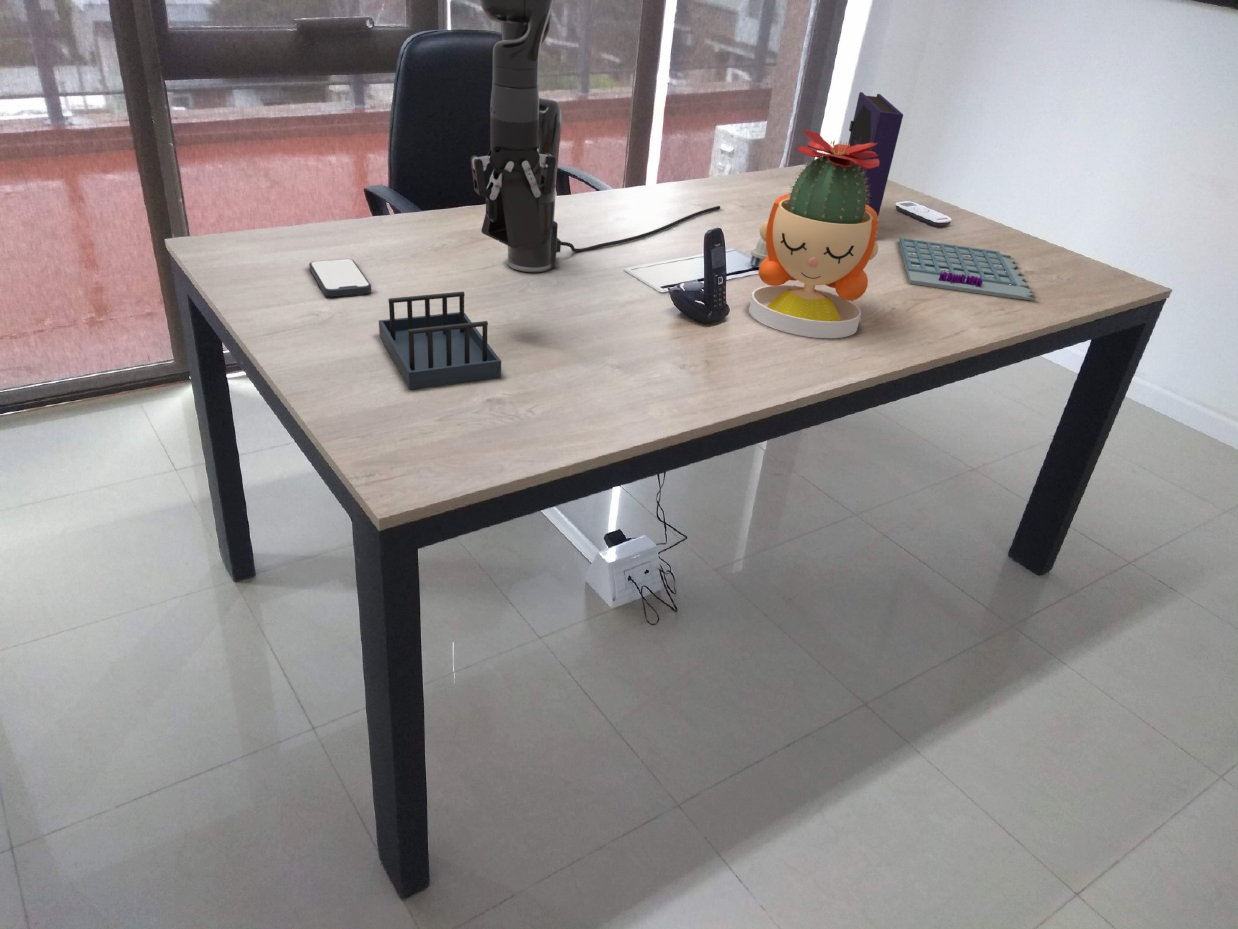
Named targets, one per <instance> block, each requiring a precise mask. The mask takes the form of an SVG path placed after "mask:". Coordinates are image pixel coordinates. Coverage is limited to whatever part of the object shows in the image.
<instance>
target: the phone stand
mask: <svg viewBox="0 0 1238 929" xmlns="http://www.w3.org/2000/svg"><path fill="white" fill-rule="evenodd" d="M493 170H494V171H493ZM493 170H492V172H493V179H498V177H499V176H498V174H497V173H496V170H495V169H493ZM501 172H502V173H503V177H504V181H503V183H502V187H501V188H500V192H499V194H498V196H497V198H496V199H497V200H498V211H497V222H492V221H491V220H490V219H489V218H488V217H487V215H486V214H485V215H484V218H483V223H482V226H481V233H482V234H483V235H485V236H487V237H489V238H491V239H493V240H495V241H498V242H500V243H501V244H504V245H506V246H507V247H508V246H510V247H512V248H519V247H523V246H527V245H531V244H535V243H539V242H542V241H543V238H542V233H541V227H540V222H539V216H538V210H537V205H536V199H535V196H534V195H533V193H532V191H531V189H530V187H529V184H528V182H527V178H524V174H523V173H522V172H521V171H519V170H516V169H512V171H511V172H510V173H509V172H507V171H504V170H503V168H502V169H501ZM532 172H533V171H532ZM493 185H494V184H493Z"/></svg>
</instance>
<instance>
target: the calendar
mask: <svg viewBox="0 0 1238 929" xmlns="http://www.w3.org/2000/svg"><path fill="white" fill-rule="evenodd" d="M898 246H899V249H900V253H901V257H902V260H903V264H904V267H905V271H906V275H907V278H908V283H909V284H910V285H918V286H924V287H930V288H938V289H945V290H952V291H958V292H964V293H965V292H966V293H973V294H978V295H979V294H980V295H986V296H992V297H993V296H994V297H1000V298H1007V299H1014V300H1022V301H1023V300H1024V301H1031V302H1036V299H1037V298H1035V297H1034V296H1035V293H1033V292H1032V291H1033V290H1032V289H1030V288H1029V284H1028V283H1026V282H1025V279H1026V278H1025V277H1024V276H1020V275H1022V271H1021V270H1017V269H1016V268H1018V264H1016V263H1015V262H1016V260H1015V259H1011V257H1012V255H1009V254H1004V253H1001V252H1000V251H997V250H991V249H985V248H976V247H970V246H962V245H955V244H948V243H941V242H935V241H934V242H933V241H927V240H920V239H918V240H917V239H912V238H907V237H899V241H898ZM998 258H999V259H998ZM1005 271H1006V272H1005ZM1009 284H1011V285H1009Z"/></svg>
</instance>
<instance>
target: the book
mask: <svg viewBox="0 0 1238 929" xmlns="http://www.w3.org/2000/svg"><path fill="white" fill-rule="evenodd" d="M903 118H904V114H903V112H901V111H900V110H899V109H898V108H897V107H896V106H894V104H892V103H891V102H890V101H888V99H887V98H885V97H884V96H883V95H882V94H881V93H877V94H876V96H875V95H873V96H872V95H866V94H865V93H864V92H863V91H859V92H858V97H857V102H856V107H855V111H854V115H853V120H850V122H849V128H848V131H849V132H850V135H849V138H848V142H847V145H849V144H850V147H851V146H855V145H863V144H867V143H877V145H876V146H875V147H873V148H872V149H870V150H868V151H871V152H876V155H878V156H877V157H872V158H866V159H862V160H870V159H879V167H875V168H871V169H868V168H863V167H861V166H859V165H858V164H855V165H856V166H857V167H858V166H859V167H860V168H861V169H859V170H860V171H861V173H862V171H863V172H864V174H862V175H863V178H864V179H866V178H868V179H866V180H865V181H866V182H865V185H867V186H868V187H867V186H866V187H867V188H866V191H867V192H866V194H868V193H869V194H870V195H871V197H869V196H870V195H868V196H866V198H867V197H868V198H867V200H869V201H867V200H866V201H867V203H866V205H868V206H870V207H871V208H872V209H873V210H874V211H875V212H876V213H877V215H878V217H879V215H880V211H881V207H882V203H883V198H884V194H885V191H886V188H887V184H888V179H889V175H890V171H891V167H892V163H893V159H894V155H895V151H896V146H897V142H898V139H899V135H900V130H901V127H902V122H903ZM867 181H868V183H867ZM869 190H870V191H869ZM868 203H869V204H868Z"/></svg>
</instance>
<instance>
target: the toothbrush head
mask: <svg viewBox="0 0 1238 929" xmlns="http://www.w3.org/2000/svg"><path fill="white" fill-rule="evenodd" d="M750 255H751V256H750V260H749V263H750V265H752V266H753V267H756V268H759V267H760V264H761V263H762V261H763V260H764V259H765V258H766V257H768V253H767V248H766V241H764V240H763V239H762V238H761V237H760V238H759V240H757V243H756V246H755V249H754V248H753V249H751V250H750Z"/></svg>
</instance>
